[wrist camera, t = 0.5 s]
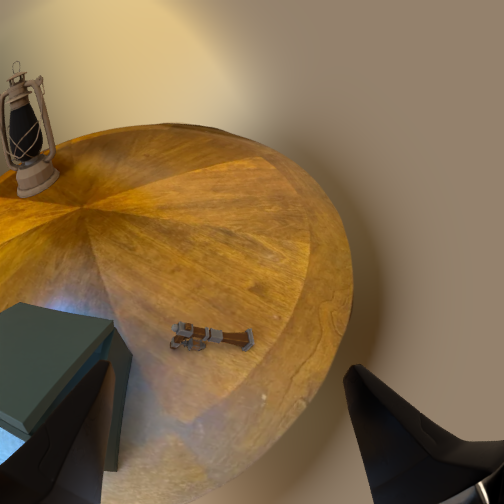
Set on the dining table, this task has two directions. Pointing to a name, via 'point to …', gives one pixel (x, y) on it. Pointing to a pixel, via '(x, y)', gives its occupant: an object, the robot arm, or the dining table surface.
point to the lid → (41, 358)
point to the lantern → (27, 137)
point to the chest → (121, 363)
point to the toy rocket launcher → (208, 337)
